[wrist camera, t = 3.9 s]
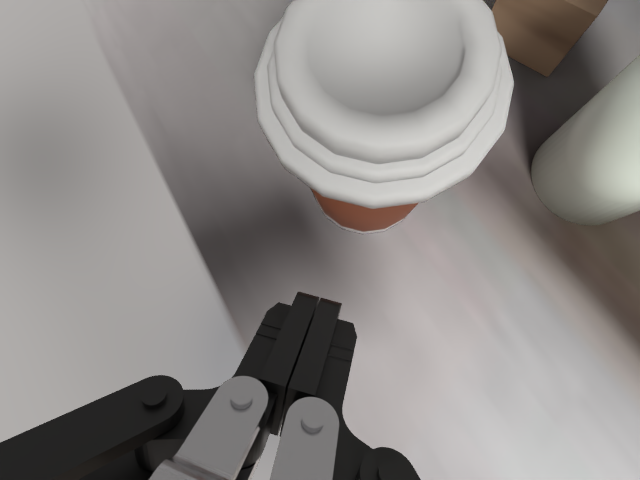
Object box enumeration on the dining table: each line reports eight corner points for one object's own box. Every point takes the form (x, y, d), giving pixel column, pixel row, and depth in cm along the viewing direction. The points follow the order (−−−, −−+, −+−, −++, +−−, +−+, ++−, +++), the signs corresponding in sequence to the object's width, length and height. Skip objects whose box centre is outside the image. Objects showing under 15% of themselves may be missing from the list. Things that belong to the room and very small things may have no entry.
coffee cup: (465, 228, 23) (595, 124, 11) (317, 277, 22) (287, 226, 11) (409, 96, 25) (468, -111, 13) (273, 141, 25) (208, -26, 13)
